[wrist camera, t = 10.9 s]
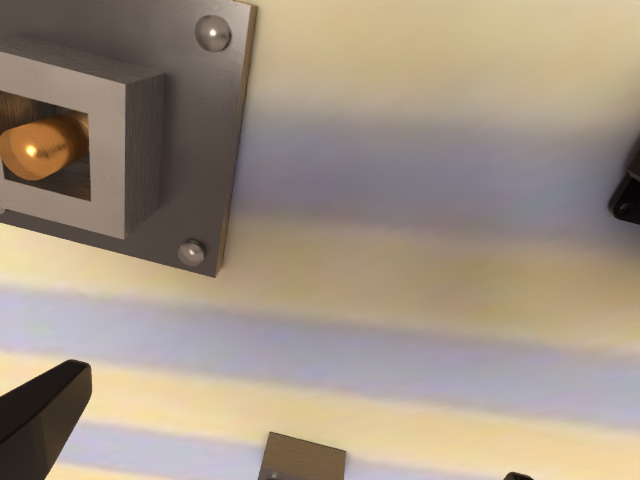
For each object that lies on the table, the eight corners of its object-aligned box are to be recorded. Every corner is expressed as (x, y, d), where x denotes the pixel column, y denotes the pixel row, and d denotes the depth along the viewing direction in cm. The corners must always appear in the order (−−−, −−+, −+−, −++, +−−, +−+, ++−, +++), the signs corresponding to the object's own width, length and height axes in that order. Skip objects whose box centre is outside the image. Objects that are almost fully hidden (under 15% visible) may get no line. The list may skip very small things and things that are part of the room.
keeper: (257, 5, 16) (212, 3, 12) (221, 267, 22) (182, 331, 18) (-53, -76, 16) (-214, -108, 12) (-7, 208, 22) (-104, 257, 17)
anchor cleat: (345, 451, 27) (342, 494, 25) (334, 478, 29) (330, 522, 26) (269, 432, 27) (259, 473, 25) (262, 460, 29) (251, 502, 26)
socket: (164, 73, 17) (125, 84, 14) (158, 209, 20) (124, 239, 17) (15, 33, 17) (-53, 37, 14) (30, 175, 20) (-24, 200, 17)
